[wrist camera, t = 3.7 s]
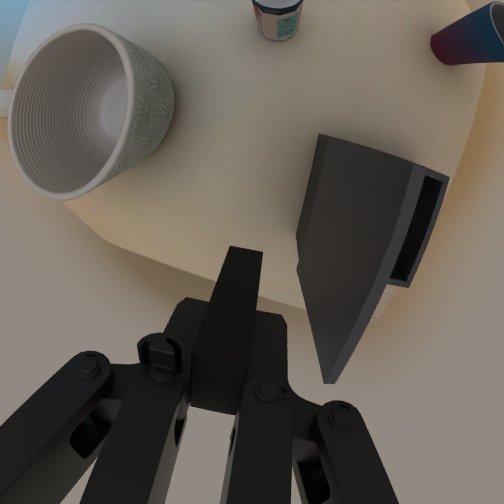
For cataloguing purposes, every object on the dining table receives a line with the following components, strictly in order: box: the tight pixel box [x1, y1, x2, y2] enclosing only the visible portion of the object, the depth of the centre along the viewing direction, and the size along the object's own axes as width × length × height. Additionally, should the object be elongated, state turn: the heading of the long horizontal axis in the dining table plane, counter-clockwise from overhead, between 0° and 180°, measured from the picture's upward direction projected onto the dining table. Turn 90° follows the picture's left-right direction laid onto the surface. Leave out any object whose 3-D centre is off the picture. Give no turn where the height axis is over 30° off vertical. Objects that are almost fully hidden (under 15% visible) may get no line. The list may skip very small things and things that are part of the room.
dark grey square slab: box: [296, 137, 427, 384], centre depth 19 cm, size 14×14×1 cm
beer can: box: [252, 0, 303, 40], centre depth 20 cm, size 5×5×12 cm
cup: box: [431, 1, 504, 65], centre depth 16 cm, size 7×7×15 cm
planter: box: [8, 23, 174, 201], centre depth 24 cm, size 17×17×15 cm
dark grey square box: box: [296, 134, 450, 288], centre depth 30 cm, size 14×14×9 cm
